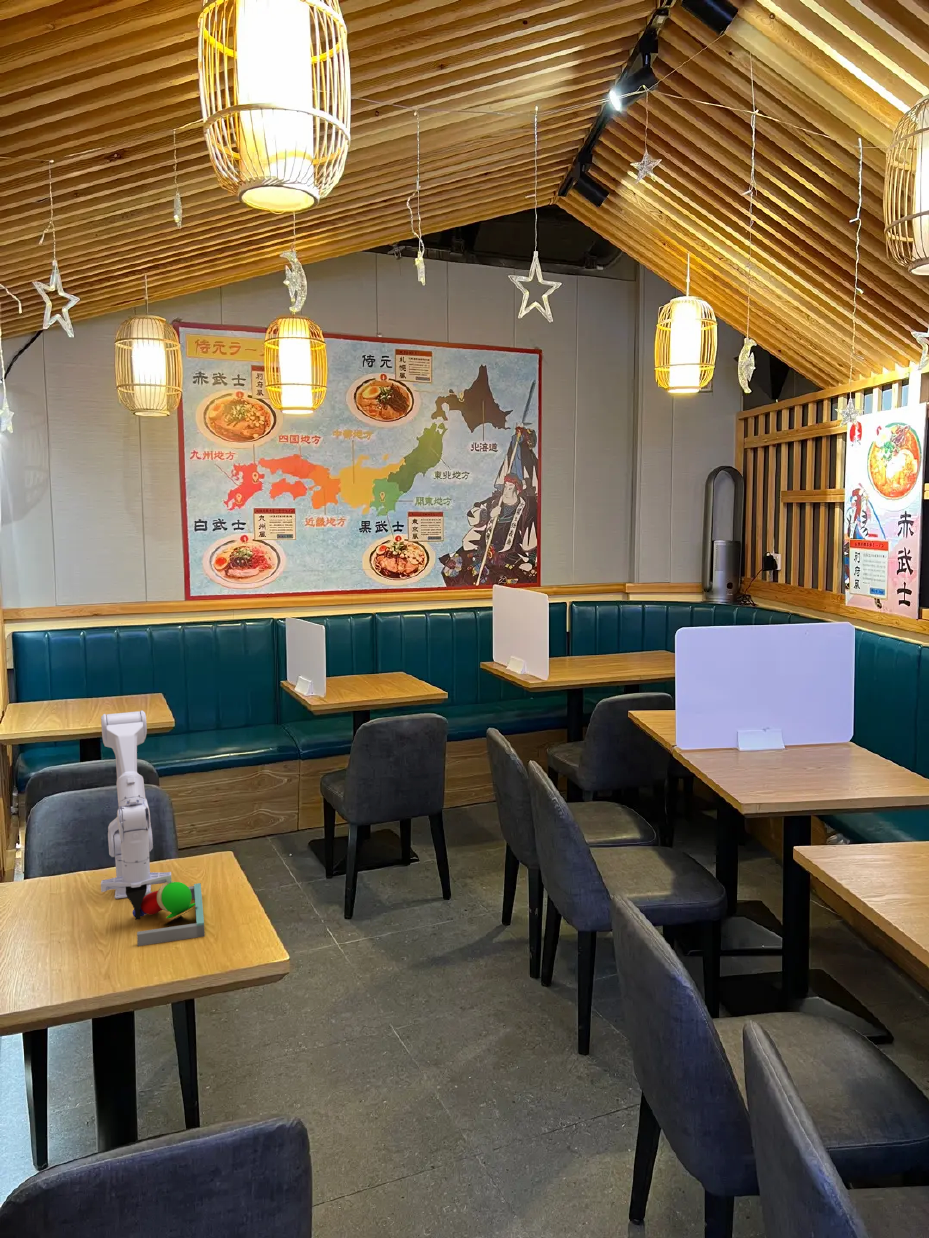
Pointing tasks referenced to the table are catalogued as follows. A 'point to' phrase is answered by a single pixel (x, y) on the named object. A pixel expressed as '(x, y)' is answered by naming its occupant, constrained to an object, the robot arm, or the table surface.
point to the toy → (167, 900)
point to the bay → (177, 931)
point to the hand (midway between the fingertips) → (138, 917)
